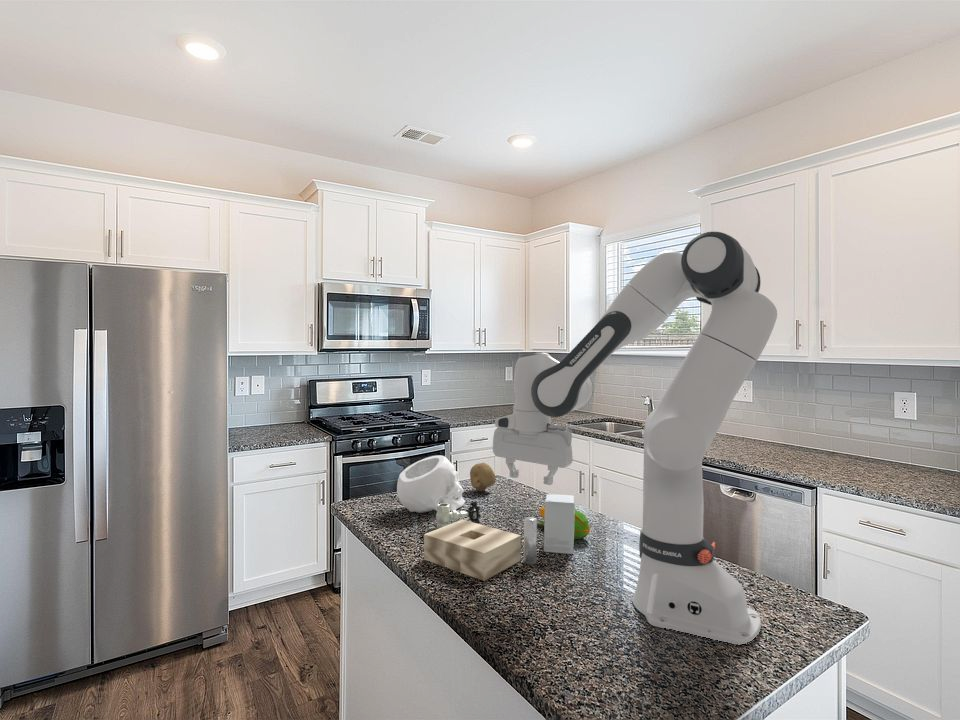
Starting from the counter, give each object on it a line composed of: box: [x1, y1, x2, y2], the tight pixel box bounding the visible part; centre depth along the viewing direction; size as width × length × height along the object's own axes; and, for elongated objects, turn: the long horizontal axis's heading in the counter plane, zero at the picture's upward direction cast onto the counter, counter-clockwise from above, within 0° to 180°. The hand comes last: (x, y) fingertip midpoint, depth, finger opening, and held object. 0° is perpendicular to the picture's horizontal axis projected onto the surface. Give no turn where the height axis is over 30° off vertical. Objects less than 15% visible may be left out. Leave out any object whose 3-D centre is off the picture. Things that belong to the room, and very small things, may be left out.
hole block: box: [423, 519, 522, 582], centre depth 123 cm, size 18×14×6 cm
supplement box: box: [543, 493, 576, 555], centre depth 131 cm, size 7×7×13 cm
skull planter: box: [396, 454, 466, 514], centre depth 161 cm, size 14×20×19 cm
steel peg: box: [523, 516, 538, 565], centre depth 123 cm, size 3×3×10 cm
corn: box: [538, 505, 591, 540], centre depth 143 cm, size 7×8×20 cm
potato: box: [469, 462, 497, 492], centre depth 183 cm, size 9×9×10 cm
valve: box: [435, 501, 482, 529], centre depth 147 cm, size 7×7×12 cm
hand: (530, 480), depth 122 cm, fingers open, 8 cm apart
